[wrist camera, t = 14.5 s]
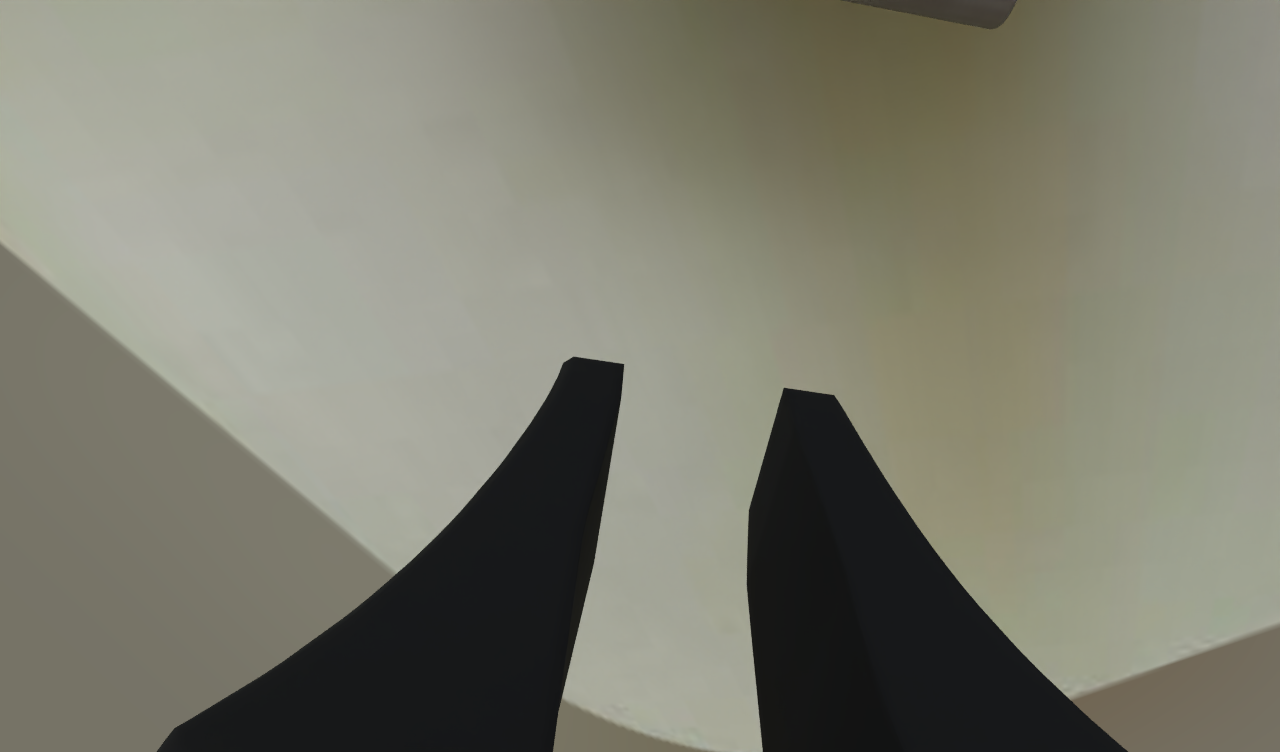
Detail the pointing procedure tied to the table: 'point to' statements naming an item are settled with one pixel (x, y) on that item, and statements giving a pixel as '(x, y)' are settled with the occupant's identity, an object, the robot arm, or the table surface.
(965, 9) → the drawer
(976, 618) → the robot arm
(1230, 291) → the table surface
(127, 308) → the table surface
